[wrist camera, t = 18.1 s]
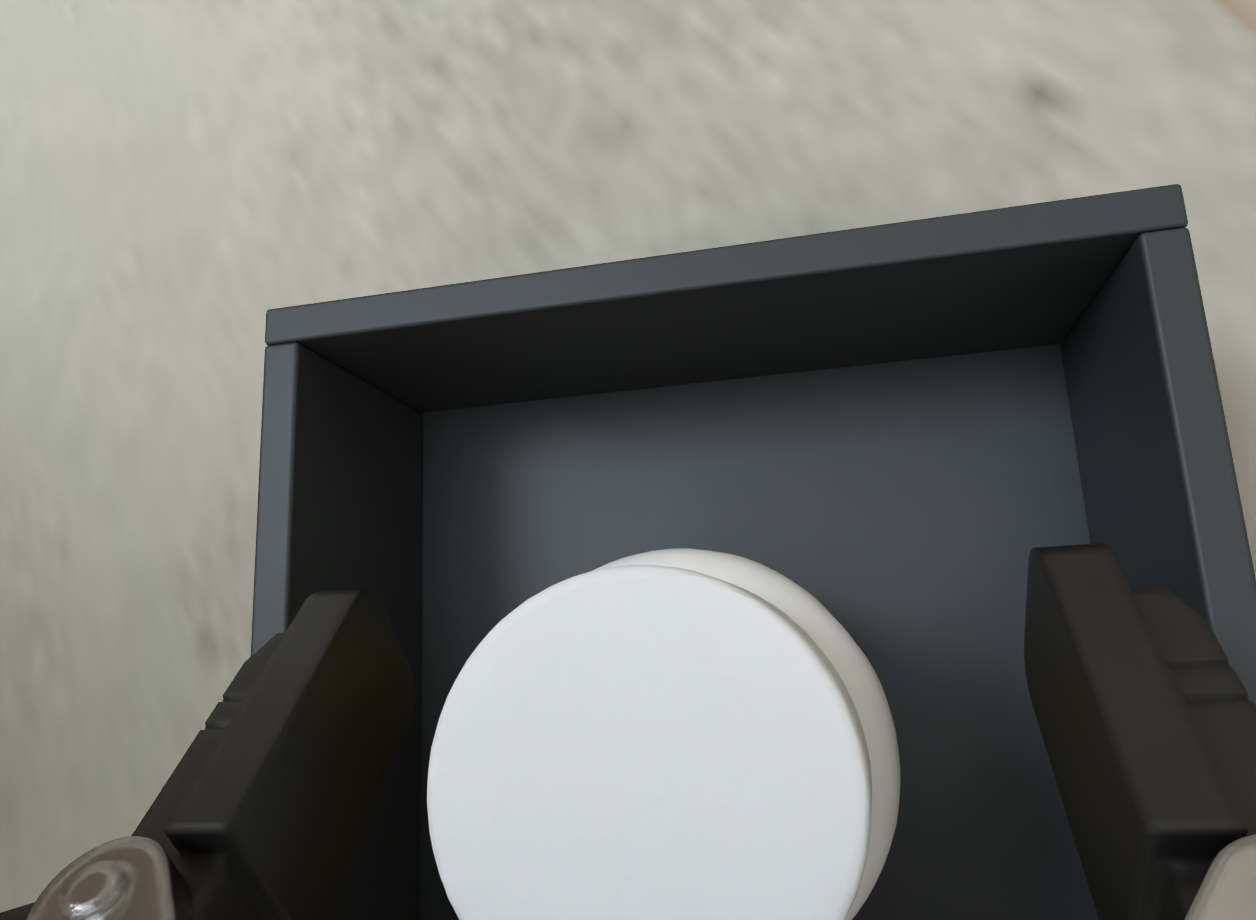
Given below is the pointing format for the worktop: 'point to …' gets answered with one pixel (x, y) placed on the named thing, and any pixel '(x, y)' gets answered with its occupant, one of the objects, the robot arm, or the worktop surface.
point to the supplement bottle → (665, 753)
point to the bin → (778, 485)
